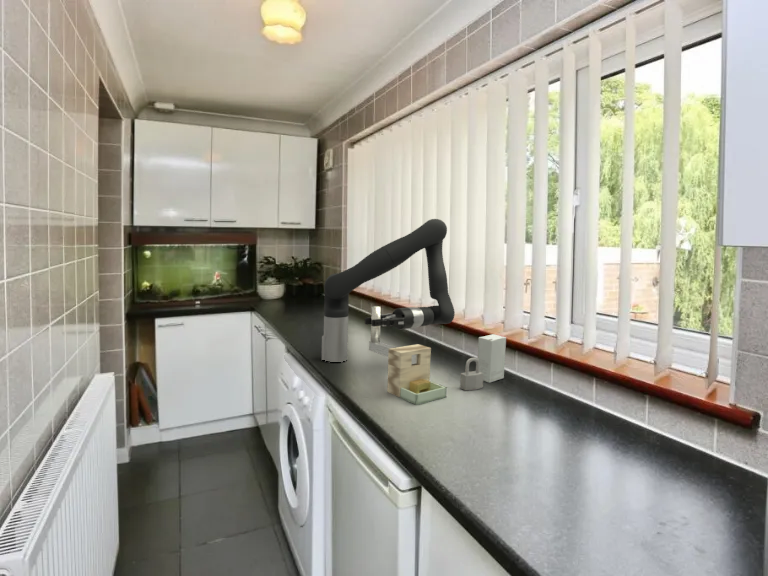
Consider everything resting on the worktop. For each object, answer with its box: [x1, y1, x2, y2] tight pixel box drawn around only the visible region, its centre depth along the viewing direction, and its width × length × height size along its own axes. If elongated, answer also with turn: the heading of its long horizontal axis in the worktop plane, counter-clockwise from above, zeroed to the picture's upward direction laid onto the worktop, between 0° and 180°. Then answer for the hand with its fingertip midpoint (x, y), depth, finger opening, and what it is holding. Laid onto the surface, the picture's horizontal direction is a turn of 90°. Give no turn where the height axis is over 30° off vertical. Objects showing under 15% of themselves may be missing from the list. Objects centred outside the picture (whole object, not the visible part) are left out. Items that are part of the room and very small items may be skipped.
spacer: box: [410, 379, 432, 394], centre depth 135 cm, size 4×5×4 cm
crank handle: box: [368, 305, 418, 365], centre depth 145 cm, size 22×3×15 cm, turn 38°
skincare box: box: [477, 333, 507, 383], centre depth 154 cm, size 8×6×15 cm
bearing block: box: [386, 343, 432, 398], centre depth 139 cm, size 6×12×14 cm, turn 127°
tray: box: [399, 380, 448, 406], centre depth 134 cm, size 7×12×3 cm, turn 127°
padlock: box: [459, 357, 484, 391], centre depth 144 cm, size 7×4×10 cm, turn 118°
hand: (368, 322), depth 150 cm, fingers closed on crank handle, 3 cm apart
